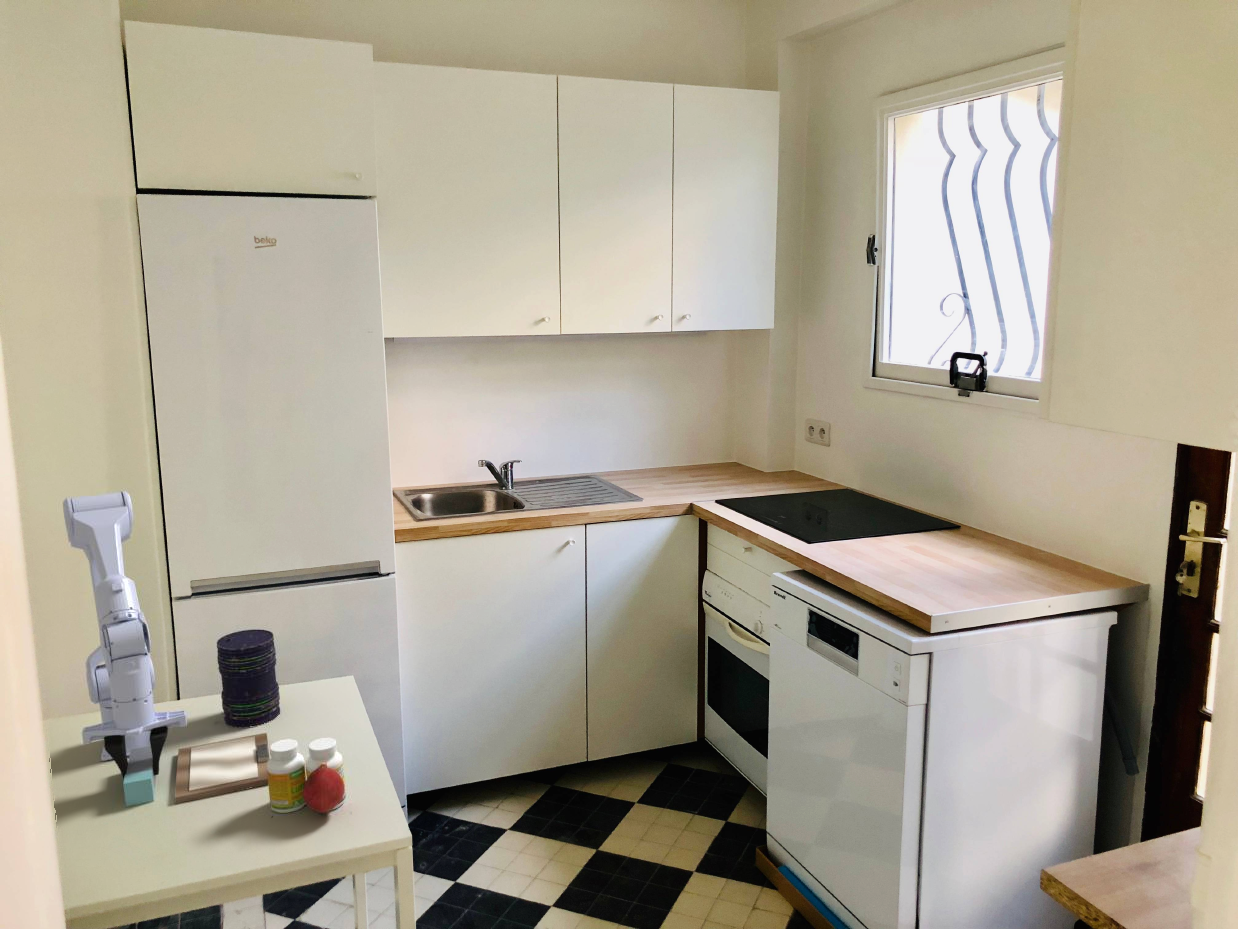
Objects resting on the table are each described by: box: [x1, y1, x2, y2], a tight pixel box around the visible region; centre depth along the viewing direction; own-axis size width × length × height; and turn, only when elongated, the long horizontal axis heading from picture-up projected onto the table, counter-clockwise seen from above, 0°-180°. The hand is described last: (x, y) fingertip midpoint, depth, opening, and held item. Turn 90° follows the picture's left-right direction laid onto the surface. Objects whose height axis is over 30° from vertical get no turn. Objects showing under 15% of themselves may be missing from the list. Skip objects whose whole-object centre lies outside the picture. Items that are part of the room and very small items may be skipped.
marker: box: [122, 746, 157, 807], centre depth 150 cm, size 14×4×4 cm, turn 23°
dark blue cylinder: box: [216, 628, 281, 729], centre depth 173 cm, size 10×10×15 cm
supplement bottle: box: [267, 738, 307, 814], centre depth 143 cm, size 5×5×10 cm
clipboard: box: [174, 732, 271, 804], centre depth 155 cm, size 17×14×2 cm
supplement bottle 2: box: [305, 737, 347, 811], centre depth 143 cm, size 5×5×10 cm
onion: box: [303, 762, 346, 814], centre depth 140 cm, size 6×6×8 cm
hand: (141, 775), depth 150 cm, fingers closed on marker, 4 cm apart
